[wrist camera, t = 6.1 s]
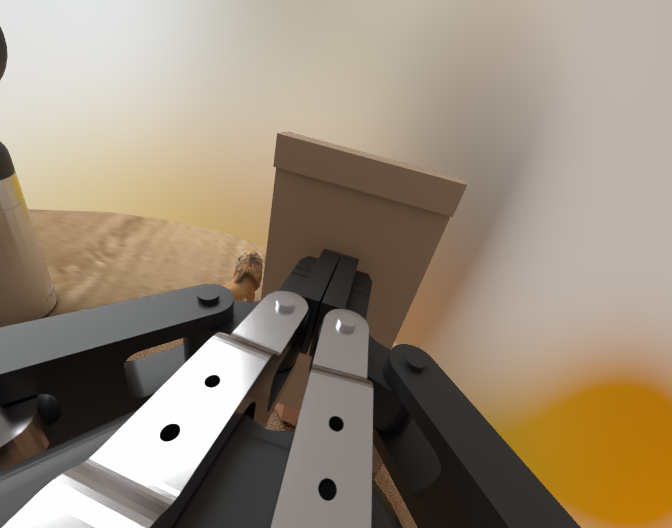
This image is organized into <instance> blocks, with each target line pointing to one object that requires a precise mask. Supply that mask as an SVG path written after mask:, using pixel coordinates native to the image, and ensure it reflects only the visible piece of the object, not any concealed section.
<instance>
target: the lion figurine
mask: <svg viewBox="0 0 672 528" xmlns="http://www.w3.org/2000/svg"><path fill="white" fill-rule="evenodd" d="M262 268H263V266H262V259H261V258H260V256H259V255H258V253H256V252H255V251H253V250H245V251H244V252H243V254H240V256H239V257H237V258H236V271H235V274H234V278H233V280H231V281H230V282H229V283H227V284H225V285H224V287H226V288H228V289H229V290H230V291H231V292H232V293H233V295H234V301H242V300H243V299H244V298H245V297H246V298H247V302H253V301H254V298H255V291H256V290H257V289H258V288H259V287H260V282H261V279H262Z"/></svg>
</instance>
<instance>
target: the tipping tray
mask: <svg viewBox="0 0 672 528" xmlns="http://www.w3.org/2000/svg"><path fill="white" fill-rule="evenodd" d="M274 167H276V174H275V184H274V192H273V200H272V209H271V217H270V226H269V235H268V243H267V252H266V260H265V269H264V278H263V286H262V295H261V301H262V300H263V299H264V298H265V297H266V296H267V295H268V294H270V293H273V292H276V291H278V290H279V289H280V287H281V286H282V284H283V283H284V282H285V280H286V279H287V277H288V276H289V275H290V273H291V272H292V270H293V269H294V268H295V266H296V265H297V263H298V262H299V261H300V260H301V259H303V258H305V257H307V256H311V257H314V258H319V256H320V255H321V253H322V251H323V250H324V248H325V249H328V250H332V251H335V252H338V253H341V256H342V254H345V255H348V256H352V257H355V258H358V259H359V262H358V265H357V269H356V270H357V271H360V272H364V273H367V274H369V276H370V278H371V280H372V287H371V293H370V298H369V304H368V310H367V316H366V322H367V324H368V326H369V334H370V335H371V337H372V338H373V339H375V340H376V341H377V342H378V343H380V344H381V345H383V346H385V347H386V348H388V349H390V350H391V348H392V346H393V344H394V341H395V339H396V337H397V334H398V332H399V330H400V328H401V326H402V323H403V321H404V319H405V317H406V314H407V312H408V310H409V308H410V305H411V303H412V301H413V299H414V297H415V295H416V292H417V290H418V288H419V286H420V283H421V281H422V279H423V277H424V274H425V272H426V270H427V268H428V265H429V263H430V261H431V258H432V256H433V254H434V252H435V250H436V247H437V245H438V243H439V241H440V239H441V236H442V234H443V232H444V230H445V227H446V225H447V223H448V221H449V218H450V216H451V217H453V215H454V213H455V210H456V208H457V206H458V204H459V201H460V199H461V197H462V195H463V193H464V191H465V188H466V186H467V184H466V183H465V182H464V181H463V180H462V179H461V178H457V177H454V176H450V175H446V174H442V173H439V172H435V171H431V170H428V169H424V168H420V167H417V166H413V165H409V164H405V163H401V162H398V161H394V160H391V159H387V158H383V157H379V156H376V155H372V154H368V153H365V152H361V151H358V150H354V149H350V148H347V147H343V146H339V145H335V144H332V143H328V142H324V141H321V140H317V139H313V138H310V137H306V136H302V135H299V134H294V133H291V132H283V133H277V140H276V149H275V158H274ZM340 259H341V258H340ZM311 343H312V342H311ZM310 347H311V345H310ZM310 347H309V350H308V352H307V355H306V354H303V353H299V355H298V358H297V360H296V365H295V369H294V372H293V374H292V376H291V378H290V380H289V382H288V384H287V386H286V388H285V389H284V391H283V393H282V395H281V397H280V399H279V401H278V403H279V404H282V405H285V406H288V407H291V408H293V409H296V410H299V411H300V409H301V405H302V401H303V397H304V393H305V389H306V386H307V382H308V378H309V366H310V363H311V359H312V357H311V356H308V355H309V351H310Z"/></svg>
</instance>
